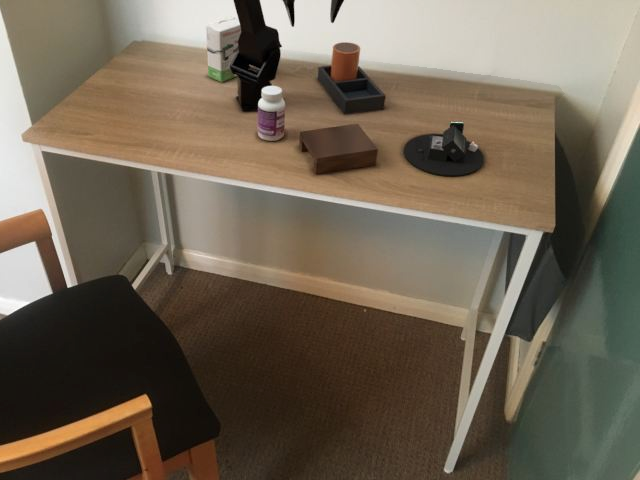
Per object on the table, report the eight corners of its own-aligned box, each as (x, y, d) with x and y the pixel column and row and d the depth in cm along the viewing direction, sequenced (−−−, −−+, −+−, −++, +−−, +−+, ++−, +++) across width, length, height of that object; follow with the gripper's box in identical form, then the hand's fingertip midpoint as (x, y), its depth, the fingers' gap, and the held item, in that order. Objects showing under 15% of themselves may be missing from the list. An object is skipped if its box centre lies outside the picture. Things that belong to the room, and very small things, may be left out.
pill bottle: (281, 143, 121) (283, 97, 114) (255, 140, 122) (255, 95, 115) (286, 129, 125) (287, 85, 118) (260, 127, 125) (261, 82, 119)
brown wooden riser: (315, 174, 113) (316, 158, 110) (299, 147, 120) (299, 131, 117) (375, 165, 115) (378, 149, 112) (355, 139, 122) (357, 123, 119)
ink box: (221, 83, 140) (219, 31, 132) (207, 76, 143) (204, 25, 135) (248, 71, 145) (248, 20, 136) (234, 65, 147) (233, 15, 139)
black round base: (482, 181, 111) (490, 155, 107) (399, 169, 114) (404, 143, 110) (483, 141, 121) (490, 115, 117) (407, 131, 124) (412, 106, 120)
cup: (335, 89, 136) (338, 54, 130) (326, 78, 140) (329, 43, 134) (360, 86, 137) (364, 51, 131) (350, 75, 141) (354, 40, 136)
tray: (344, 114, 129) (345, 100, 127) (317, 79, 141) (318, 66, 139) (383, 109, 131) (385, 95, 129) (353, 75, 143) (355, 62, 141)
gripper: (284, -40, 116) (282, 42, 127) (375, -47, 120) (365, 33, 130) (269, -55, 124) (268, 23, 135) (354, -62, 127) (347, 15, 138)
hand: (312, 24), depth 134 cm, fingers open, 9 cm apart
